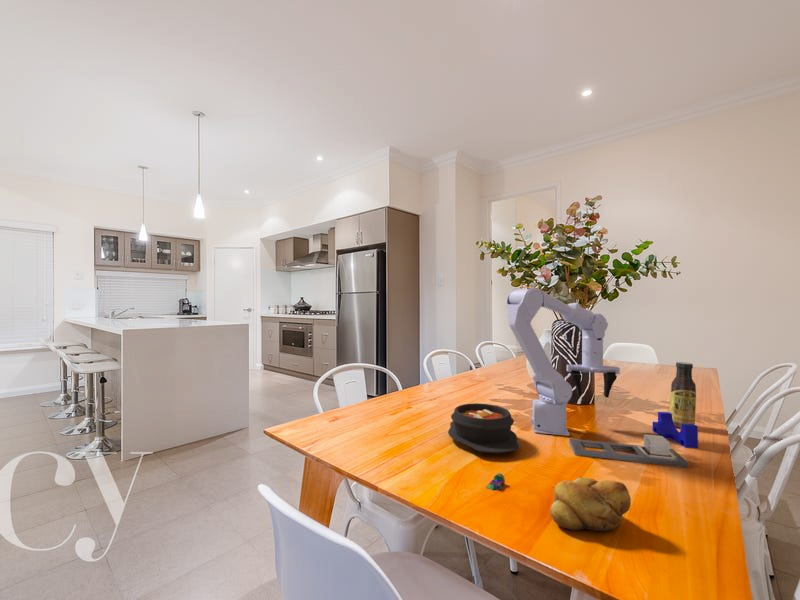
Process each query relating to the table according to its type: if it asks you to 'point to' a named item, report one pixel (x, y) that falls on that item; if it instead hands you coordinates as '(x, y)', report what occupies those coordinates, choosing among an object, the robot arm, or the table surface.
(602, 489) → the bread roll
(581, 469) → the table surface
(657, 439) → the pale grey upright block
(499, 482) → the green purple lumpy wedge
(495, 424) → the casserole
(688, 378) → the sauce bottle
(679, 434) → the cable clip
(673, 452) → the grey slotted tray
